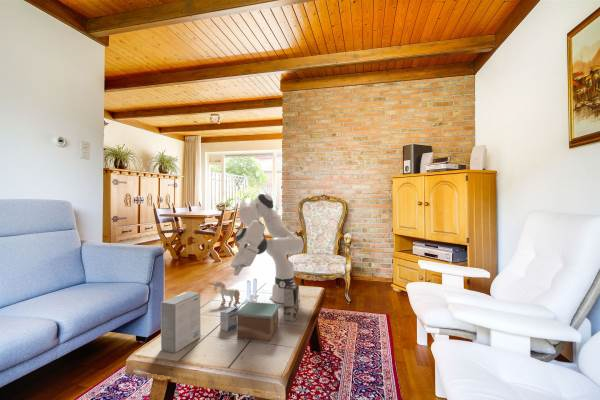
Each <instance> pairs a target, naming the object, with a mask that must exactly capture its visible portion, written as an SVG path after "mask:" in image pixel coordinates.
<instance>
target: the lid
mask: <svg viewBox="0 0 600 400" xmlns="http://www.w3.org/2000/svg"><path fill="white" fill-rule="evenodd" d="M280 308H281V303H270V302H257V301H256V302H254V301H253V302H252V301H248V302H246V303H245V304H244V305H243V306H242V307H241V308H239V309H238V310H237V313H236V316H242V317H254V318H266V319H272V317H273V316H274V315H275V313H276V312H277V311H278V312H279V309H280Z"/></svg>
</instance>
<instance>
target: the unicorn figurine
mask: <svg viewBox="0 0 600 400" xmlns="http://www.w3.org/2000/svg"><path fill="white" fill-rule="evenodd" d="M213 282H214V283H211V282H207V284H209V285H213V290H214V291H217V290H218V288H219V289H220V290H219V292H220V296H221V298H222V300H221V301H222V302H221V304H220V305H221V306H222V305H225V303H226V299H225V297H229V298H230V301H228V307H232V303H233V301H234V303H233V306H237V305H241V303H240V296H241V294H240V291H239V290H238V288H237V289H235V288H228V287H227V286H226V284H225V283H224V282H222V281H213ZM224 296H225V297H224Z"/></svg>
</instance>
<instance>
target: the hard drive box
mask: <svg viewBox="0 0 600 400" xmlns="http://www.w3.org/2000/svg"><path fill="white" fill-rule="evenodd" d="M201 333H202V332H201V293H200V292H195V291H190V290H187V291H185V292H181V293H179V294H177V295H175V296H172V297H170V298H168V299H165V300H163V301H161V302H160V347H161V348H160V350H161V349H162V350H161V351H163V350H165V352H167V351H168V352H167V353H171V352H172V353H173V354H176V353H177V352H179V351H181V350H182V349H184V348H185V347H186V346H187V347H188V345H190V344H192V343H193V342H195V341H196V340H198V339H200V338H201V336H202V335H201ZM180 349H181V350H180Z"/></svg>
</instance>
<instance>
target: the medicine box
mask: <svg viewBox="0 0 600 400" xmlns="http://www.w3.org/2000/svg"><path fill="white" fill-rule="evenodd" d="M237 312H238V307H236V306H228V307H227V308H225V309H223V310H221V311H220V316H219V317H220V318H219V321H220V322H219V324H220V326H219V328H220V330H221V331H225V332H229V331H230V330H232V329H233V328H234V327H237V316H236V313H237Z"/></svg>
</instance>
